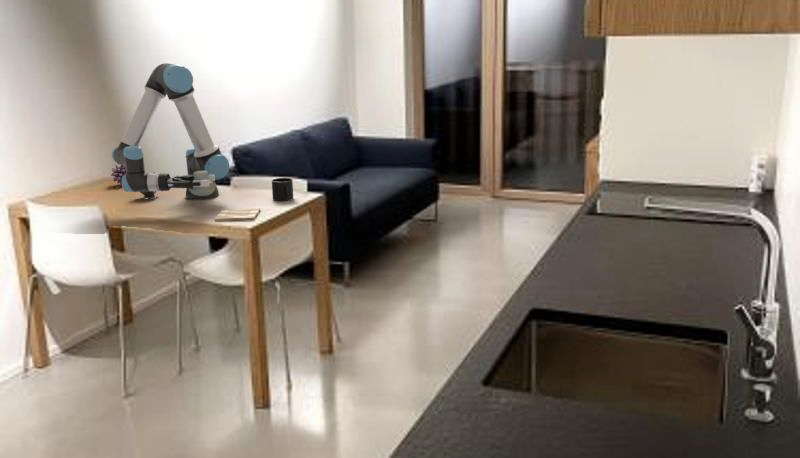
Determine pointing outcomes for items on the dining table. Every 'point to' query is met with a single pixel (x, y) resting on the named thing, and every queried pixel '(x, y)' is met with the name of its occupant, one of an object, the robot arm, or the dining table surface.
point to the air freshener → (202, 190)
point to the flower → (118, 173)
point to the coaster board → (237, 214)
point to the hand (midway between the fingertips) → (211, 180)
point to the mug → (282, 189)
